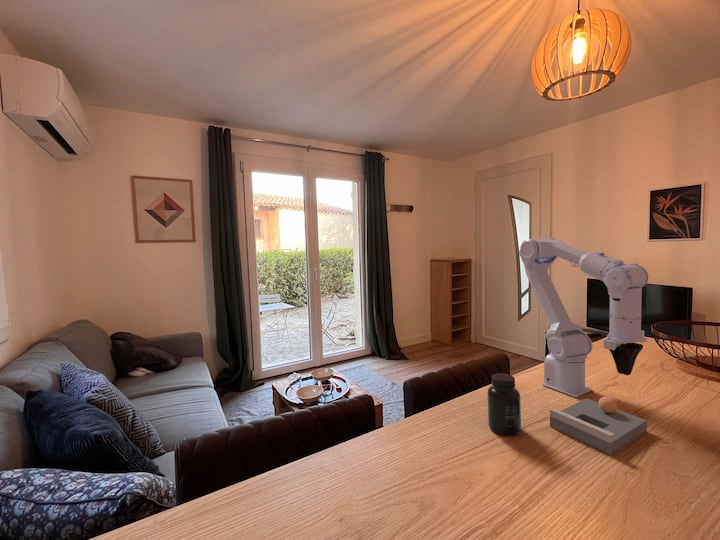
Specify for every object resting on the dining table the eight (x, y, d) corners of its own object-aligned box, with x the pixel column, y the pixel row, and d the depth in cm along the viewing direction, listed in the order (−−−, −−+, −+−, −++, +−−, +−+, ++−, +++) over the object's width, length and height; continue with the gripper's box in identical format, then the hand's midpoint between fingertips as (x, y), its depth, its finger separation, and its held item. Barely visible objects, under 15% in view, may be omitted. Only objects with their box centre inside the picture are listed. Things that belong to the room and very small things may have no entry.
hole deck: (549, 426, 74) (549, 409, 74) (586, 408, 81) (586, 392, 81) (610, 455, 64) (610, 435, 63) (646, 431, 71) (647, 413, 70)
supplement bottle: (520, 423, 76) (520, 373, 75) (521, 439, 70) (521, 385, 69) (488, 418, 79) (488, 369, 78) (487, 433, 73) (486, 381, 72)
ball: (595, 411, 75) (595, 396, 75) (603, 406, 77) (603, 392, 76) (612, 417, 72) (613, 402, 72) (620, 413, 74) (621, 398, 73)
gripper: (630, 324, 69) (629, 387, 70) (661, 314, 76) (659, 371, 77) (593, 318, 75) (593, 376, 76) (625, 310, 82) (624, 363, 83)
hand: (624, 373), depth 77 cm, fingers closed
